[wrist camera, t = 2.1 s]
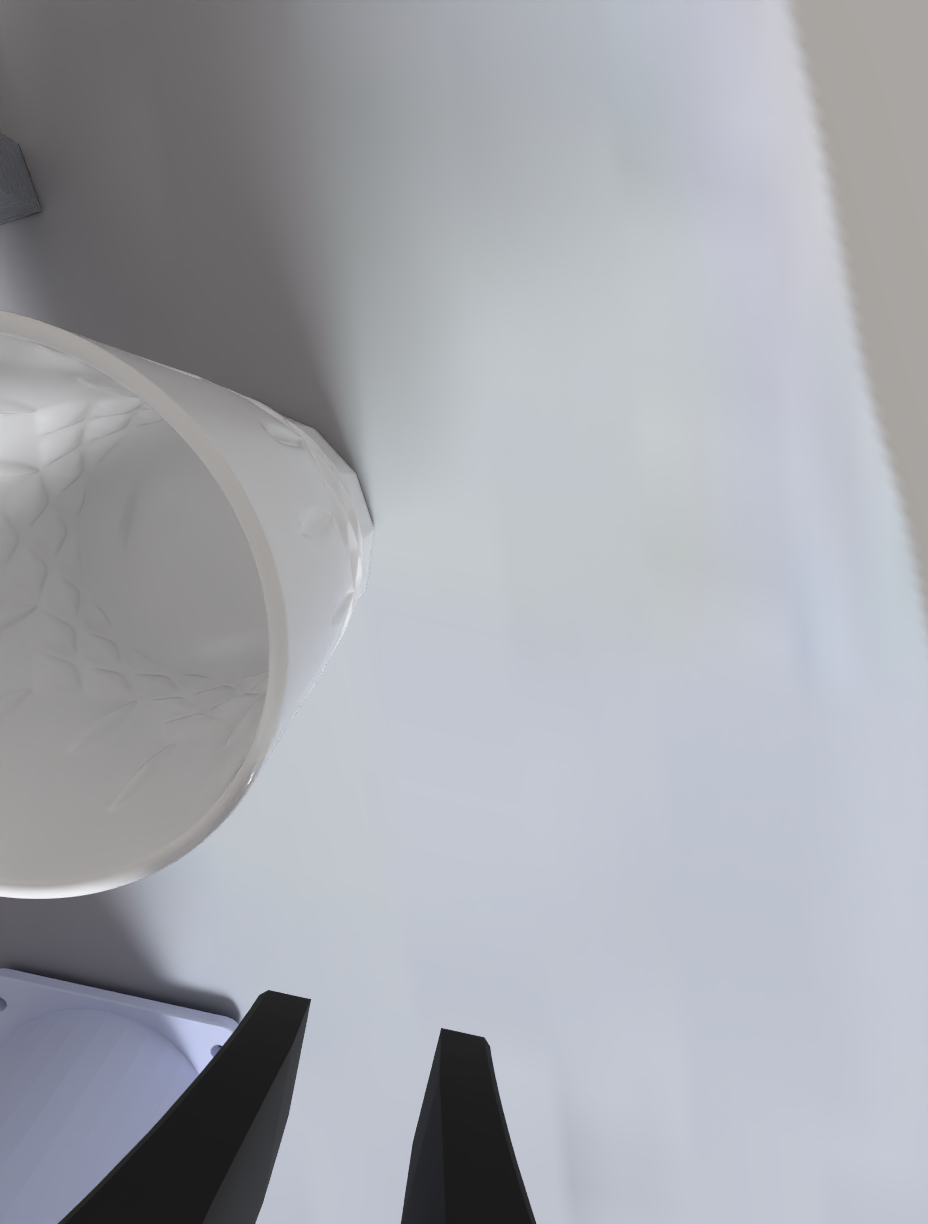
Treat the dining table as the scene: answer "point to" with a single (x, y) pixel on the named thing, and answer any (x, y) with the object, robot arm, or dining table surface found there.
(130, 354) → the white cup
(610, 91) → the dining table surface
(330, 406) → the dining table surface
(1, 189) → the tray
